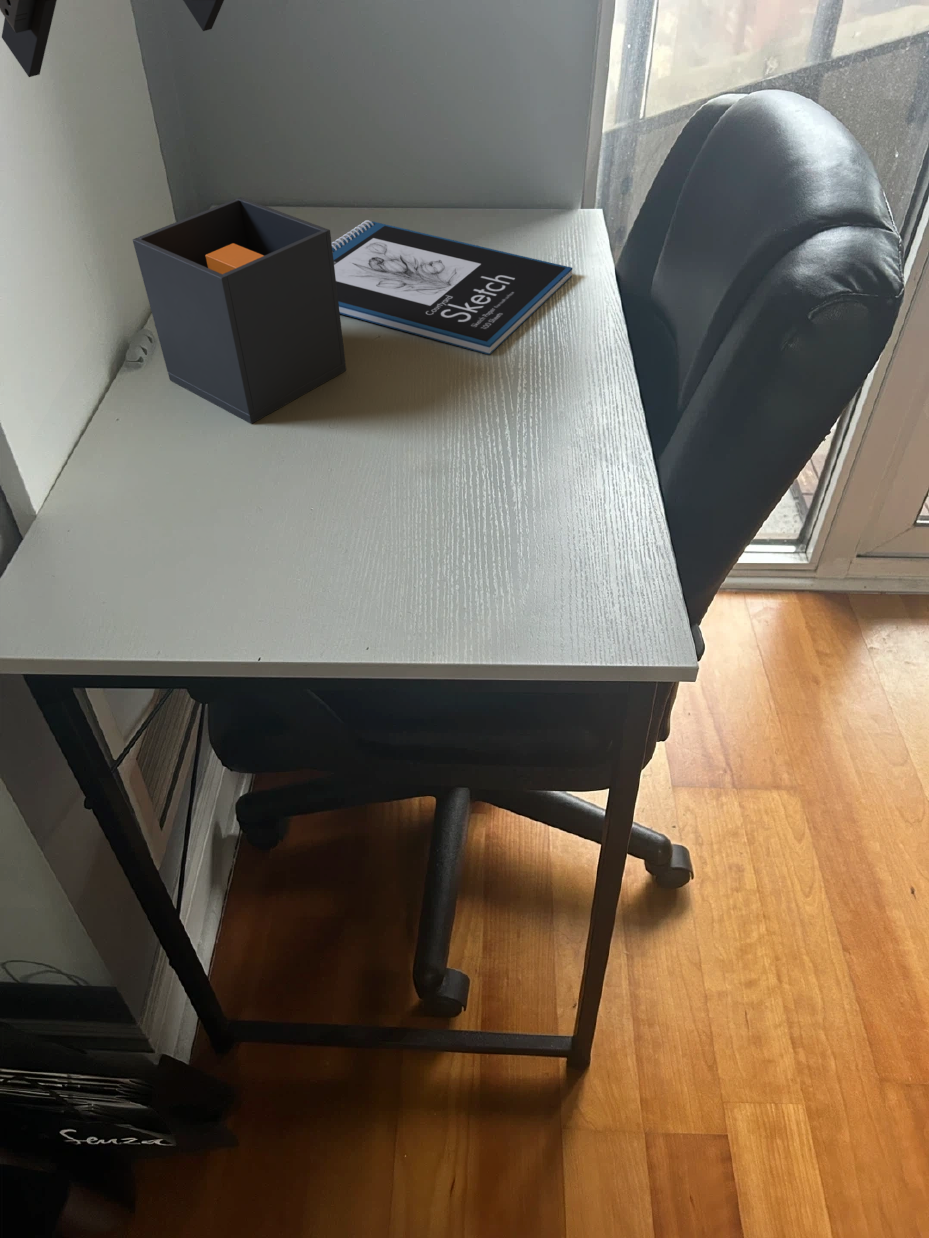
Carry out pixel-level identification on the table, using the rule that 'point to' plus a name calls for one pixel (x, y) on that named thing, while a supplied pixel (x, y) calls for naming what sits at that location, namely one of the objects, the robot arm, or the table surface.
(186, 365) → the bin
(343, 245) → the sketchbook
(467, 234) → the table surface
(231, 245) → the block
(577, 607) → the table surface
